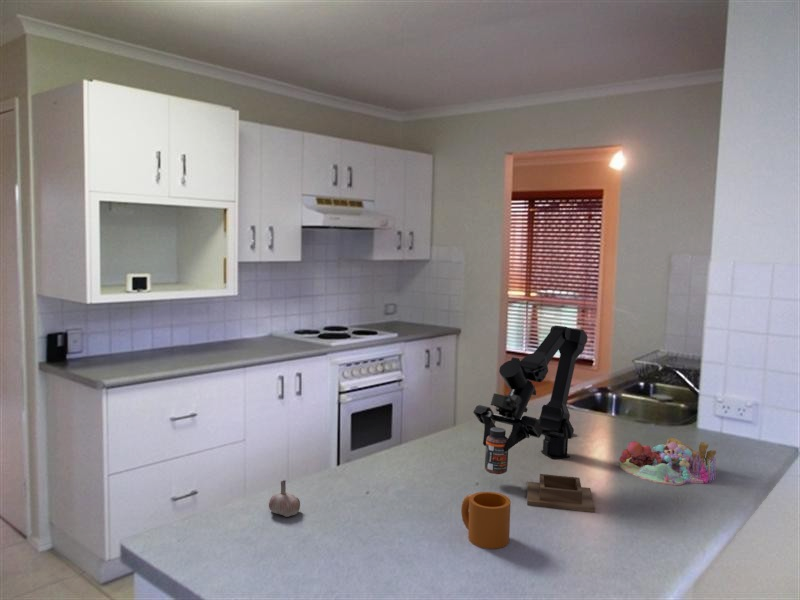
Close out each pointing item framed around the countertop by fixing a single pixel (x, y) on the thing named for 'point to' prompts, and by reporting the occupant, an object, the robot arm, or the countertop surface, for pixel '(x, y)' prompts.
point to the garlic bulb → (284, 502)
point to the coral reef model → (669, 462)
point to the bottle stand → (560, 493)
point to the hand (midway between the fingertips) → (494, 447)
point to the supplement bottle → (496, 451)
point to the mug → (487, 519)
